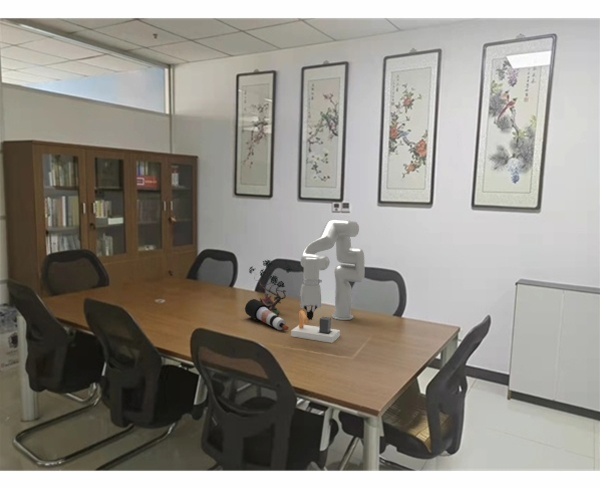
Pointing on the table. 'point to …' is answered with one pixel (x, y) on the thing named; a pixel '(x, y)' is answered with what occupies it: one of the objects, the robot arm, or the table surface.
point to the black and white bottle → (264, 314)
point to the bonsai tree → (267, 299)
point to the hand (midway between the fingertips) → (309, 319)
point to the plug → (325, 325)
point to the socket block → (315, 333)
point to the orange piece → (302, 318)
